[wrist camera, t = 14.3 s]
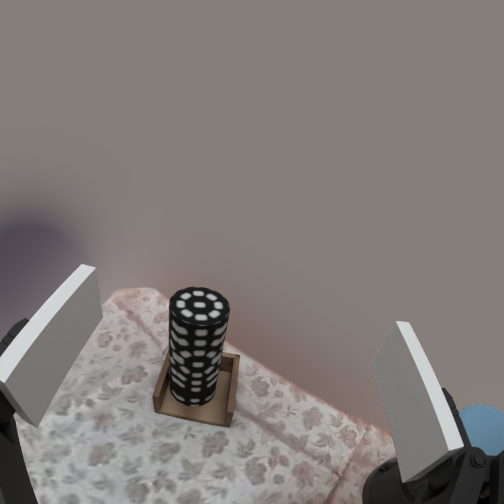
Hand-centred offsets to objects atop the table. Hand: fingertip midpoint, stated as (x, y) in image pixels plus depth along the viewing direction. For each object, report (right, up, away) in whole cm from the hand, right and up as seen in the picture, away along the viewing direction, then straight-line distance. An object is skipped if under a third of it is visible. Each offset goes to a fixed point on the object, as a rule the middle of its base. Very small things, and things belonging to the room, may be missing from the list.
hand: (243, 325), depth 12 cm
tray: (-10, -23, +36) cm, 44 cm away
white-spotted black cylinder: (-10, -22, +36) cm, 43 cm away
